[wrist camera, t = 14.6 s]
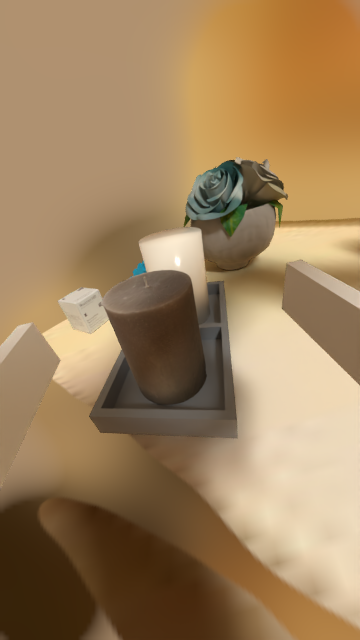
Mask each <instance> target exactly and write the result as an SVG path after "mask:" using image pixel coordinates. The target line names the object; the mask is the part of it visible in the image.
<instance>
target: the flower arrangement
mask: <svg viewBox="0 0 360 640" xmlns="http://www.w3.org/2000/svg"><path fill="white" fill-rule="evenodd" d="M263 163H264V164H263V165H262V164H258V163H257V162H256V161H251V160H243V159H240V158H238V157H237V158H236V160H229V161H226V162H224V163H222V164H221V165H220V166H218V167H217V168H214V169H212V170H208V171H206V172H205V173H204V174H203V175H202V176H201V175H198V176H197V178H196V181H195V183H194V185H193V188H192V191H191V193H190V195H189V196H188V201H187V204H186V214H187V215H186V217H185V222H184V227H185V225H186V224H187V222H188V221H189V220H190V219H191V227H196V228H199V229H201V233H202V242H203V251H204V258H205V259H207V260H209V261H211V262H215V263H216V264H217V266H218V267H219V268H221V269H225V270H234V269H239V268H242V267H244V266H246V265H247V264H248V262H249V259H252V258H254V257H256V256H257V255H259V254H260V253H261V252H263V251H264V250H265V249H266V248H267V247H268V246H269V244H270V242H271V240H272V237H273V235H274V230H275V221H276V213H275V207H277V208H278V215H279V228H280V222H281V215H282V208H283V206H282V204H281V203H279V202H278V201H277V200H279V199H281V198H286V199H287V198H288V195H287V194H286V193H285V192H284V191H283V188H284V187H283V183H282V181H280V180H278V177H277V176H276V175H275V174H274V173H273V172H271V171H270V170H269V162H268V160H267V159H266V160H265V161H264V162H263Z"/></svg>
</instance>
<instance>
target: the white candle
mask: <svg viewBox="0 0 360 640" xmlns="http://www.w3.org/2000/svg"><path fill="white" fill-rule="evenodd" d="M139 246H140V249H141V253H142V257H143V260H144V264H145V268H146V271H147V272H152V271H160V270H176V271H180V272H184V273H186V274H188V275H189V276H190V278H191V281H192V286H193V292H194V298H195V304H196V311H197V317H198V323H199V324H202V323H204V322H205V321H206V320H207V319H208V317H209V316H210V306H209V297H208V288H207V279H206V269H205V260H204V251H203V242H202V233H201V229H199V228H196V227H182V228H173V229H168V230H163V231H160V232H156V233H153V234H151V235H148V236H146V237H144V238H142V239H141V240H140V241H139Z"/></svg>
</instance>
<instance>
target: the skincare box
mask: <svg viewBox="0 0 360 640" xmlns="http://www.w3.org/2000/svg"><path fill="white" fill-rule="evenodd" d="M102 300H103V299H102V297H101V294H100V292H99V290H97V289H89V288H79V289H78V290H76V291H74V292H72V293H70V294H68V295H67V296H65V297H64V298H62V299H60V300H58V303H59V305H60V306H61V308H62V310H63V311H64V313H65V315H66V317H67V319H68V321H69V322H70V324H71V326H72V328H73V329H74V330H78V331H82V332H85V333H89V334H91V333H93V332H94V331H95V330H96V329H98V328H99V327H100V326H102V325H103V324H104V323H105V322H107V321H108V320H109V318H108V316H107V313H106V311H105V309H104V307H103V306H102V305H101V302H102Z"/></svg>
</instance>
